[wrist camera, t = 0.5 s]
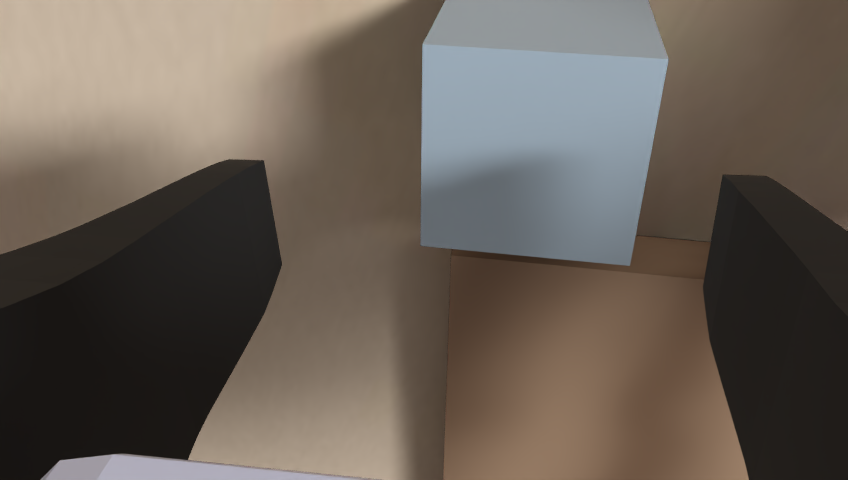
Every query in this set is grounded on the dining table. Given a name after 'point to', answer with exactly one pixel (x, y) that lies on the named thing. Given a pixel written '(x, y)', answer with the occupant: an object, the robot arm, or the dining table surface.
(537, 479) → the walnut base
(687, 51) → the dining table surface
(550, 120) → the slate block
